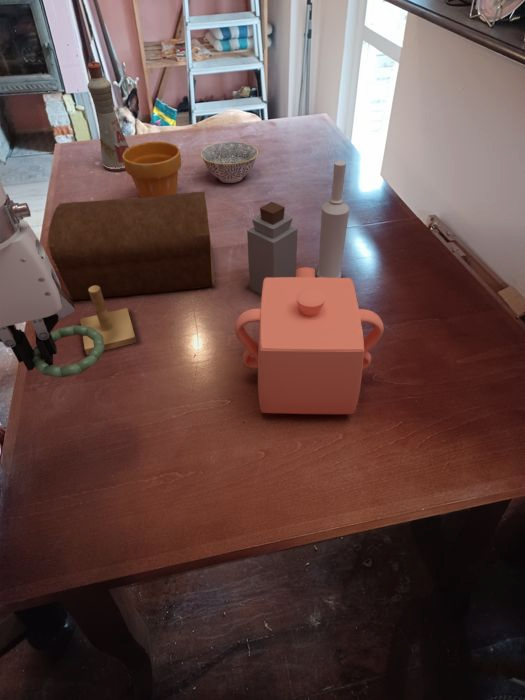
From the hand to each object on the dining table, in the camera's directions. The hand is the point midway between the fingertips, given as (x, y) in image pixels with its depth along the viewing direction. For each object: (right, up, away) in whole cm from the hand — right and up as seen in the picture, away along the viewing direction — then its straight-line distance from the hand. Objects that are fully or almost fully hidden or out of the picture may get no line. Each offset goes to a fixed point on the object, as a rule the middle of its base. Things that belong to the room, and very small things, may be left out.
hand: (40, 359), depth 58 cm
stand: (-2, +4, +32) cm, 32 cm away
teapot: (+34, -2, +26) cm, 43 cm away
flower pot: (-1, +41, +70) cm, 81 cm away
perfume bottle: (+29, +14, +42) cm, 53 cm away
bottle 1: (-17, +57, +87) cm, 105 cm away
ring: (+3, +1, 0) cm, 3 cm away
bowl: (+18, +51, +79) cm, 96 cm away
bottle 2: (+41, +16, +43) cm, 62 cm away
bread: (+1, +18, +46) cm, 49 cm away
